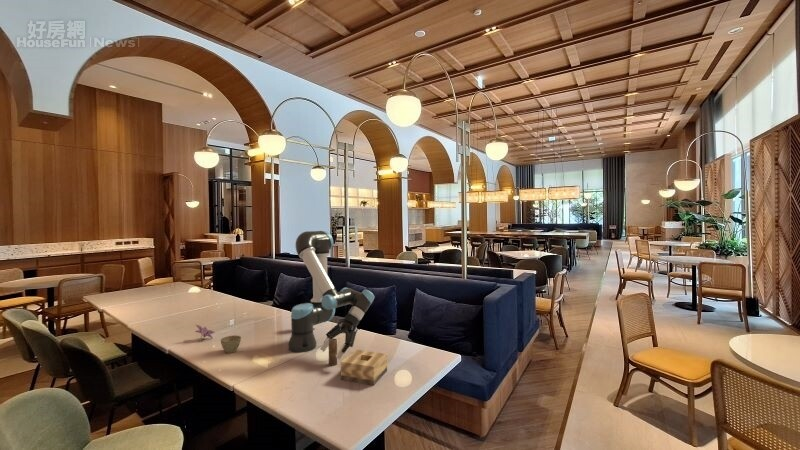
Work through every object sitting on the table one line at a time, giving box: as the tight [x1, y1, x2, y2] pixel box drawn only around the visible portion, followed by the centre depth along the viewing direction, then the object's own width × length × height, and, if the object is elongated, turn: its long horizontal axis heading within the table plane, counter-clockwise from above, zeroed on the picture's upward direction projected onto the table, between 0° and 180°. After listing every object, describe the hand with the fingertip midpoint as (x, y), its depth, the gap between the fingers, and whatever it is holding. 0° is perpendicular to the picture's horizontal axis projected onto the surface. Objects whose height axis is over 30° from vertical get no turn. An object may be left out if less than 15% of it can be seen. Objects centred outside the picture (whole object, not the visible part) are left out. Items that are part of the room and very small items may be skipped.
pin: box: [328, 338, 338, 367], centre depth 167 cm, size 4×4×12 cm
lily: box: [194, 324, 216, 343], centre depth 202 cm, size 12×12×10 cm
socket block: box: [340, 349, 388, 386], centre depth 155 cm, size 16×15×8 cm
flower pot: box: [220, 334, 242, 354], centre depth 184 cm, size 10×10×7 cm
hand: (329, 354), depth 166 cm, fingers open, 13 cm apart
